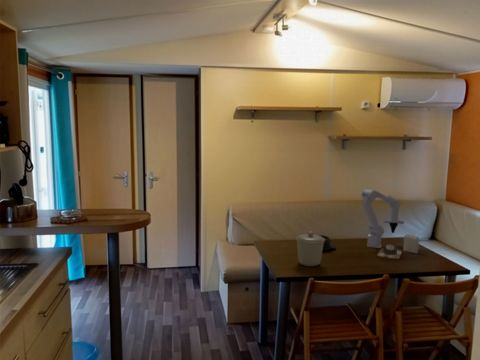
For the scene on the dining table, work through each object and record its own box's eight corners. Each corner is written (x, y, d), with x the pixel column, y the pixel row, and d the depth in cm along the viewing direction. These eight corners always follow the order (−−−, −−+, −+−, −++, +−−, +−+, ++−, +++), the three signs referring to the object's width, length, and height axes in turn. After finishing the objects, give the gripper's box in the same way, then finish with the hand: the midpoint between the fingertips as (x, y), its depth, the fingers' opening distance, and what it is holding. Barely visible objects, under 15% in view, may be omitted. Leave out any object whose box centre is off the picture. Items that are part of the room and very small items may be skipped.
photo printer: (402, 250, 298) (403, 233, 296) (405, 249, 301) (406, 232, 299) (415, 253, 290) (417, 236, 288) (418, 252, 293) (420, 235, 291)
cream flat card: (377, 256, 283) (377, 250, 282) (381, 249, 299) (381, 244, 298) (398, 259, 276) (399, 253, 276) (401, 252, 292) (402, 247, 292)
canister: (317, 259, 273) (319, 227, 270) (328, 268, 255) (329, 234, 253) (291, 259, 270) (292, 228, 267) (300, 269, 252) (301, 235, 249)
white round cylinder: (385, 253, 286) (386, 245, 286) (386, 251, 291) (387, 244, 290) (393, 254, 284) (393, 246, 283) (394, 252, 288) (394, 245, 288)
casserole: (307, 253, 286) (307, 241, 285) (297, 245, 304) (297, 234, 302) (340, 251, 291) (341, 240, 290) (328, 244, 309) (329, 233, 308)
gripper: (385, 215, 306) (383, 233, 308) (405, 216, 305) (404, 234, 306) (383, 213, 313) (381, 231, 315) (403, 214, 312) (401, 232, 313)
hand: (392, 232), depth 311 cm, fingers closed
